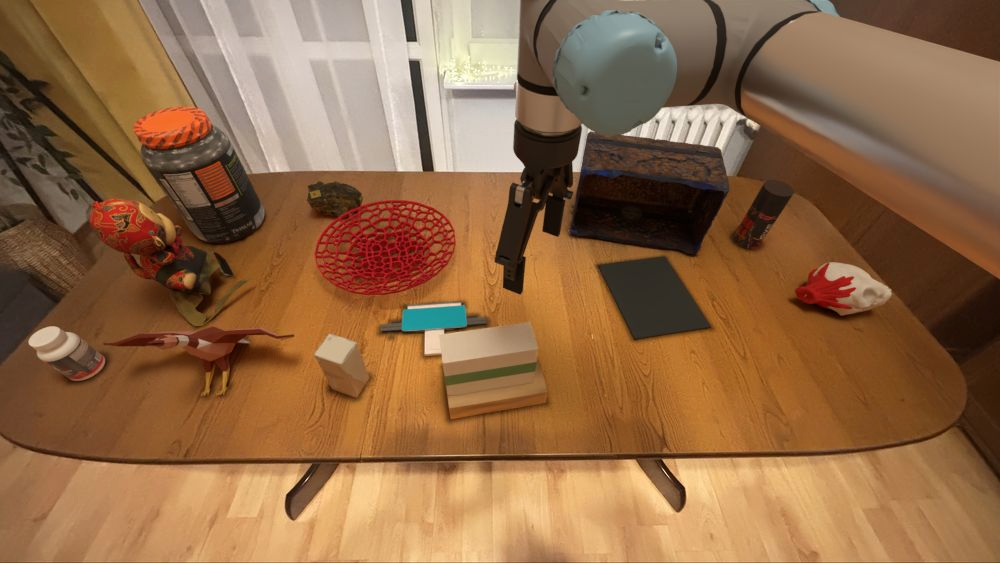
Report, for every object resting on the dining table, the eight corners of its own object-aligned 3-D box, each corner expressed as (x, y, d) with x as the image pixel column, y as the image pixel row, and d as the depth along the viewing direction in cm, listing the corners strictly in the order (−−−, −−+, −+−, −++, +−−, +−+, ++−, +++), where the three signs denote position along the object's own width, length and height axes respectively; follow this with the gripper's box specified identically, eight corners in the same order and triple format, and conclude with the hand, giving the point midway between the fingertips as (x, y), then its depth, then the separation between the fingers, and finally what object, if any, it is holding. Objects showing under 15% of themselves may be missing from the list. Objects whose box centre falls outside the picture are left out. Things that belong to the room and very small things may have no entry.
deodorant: (740, 229, 102) (771, 176, 91) (764, 242, 99) (799, 189, 88) (728, 239, 99) (758, 186, 88) (751, 253, 96) (786, 200, 85)
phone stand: (378, 360, 75) (377, 355, 73) (384, 308, 83) (382, 303, 81) (489, 351, 76) (489, 346, 75) (484, 301, 84) (484, 296, 83)
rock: (357, 169, 101) (351, 182, 95) (371, 202, 106) (367, 217, 100) (308, 181, 101) (299, 195, 95) (325, 214, 107) (317, 229, 100)
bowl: (324, 325, 80) (316, 308, 76) (319, 229, 98) (312, 212, 95) (472, 291, 86) (471, 274, 82) (441, 207, 105) (439, 191, 101)
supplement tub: (225, 199, 105) (168, 97, 86) (280, 210, 103) (233, 107, 84) (178, 239, 95) (100, 133, 76) (237, 252, 92) (173, 146, 73)
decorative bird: (85, 432, 61) (37, 347, 55) (166, 359, 78) (137, 287, 71) (283, 421, 63) (259, 337, 57) (321, 352, 80) (306, 281, 73)
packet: (526, 356, 71) (530, 321, 64) (533, 382, 68) (539, 349, 60) (444, 369, 69) (438, 334, 62) (447, 397, 66) (442, 363, 58)
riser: (545, 403, 70) (548, 391, 67) (450, 419, 67) (448, 408, 64) (531, 353, 76) (533, 340, 73) (444, 366, 74) (442, 354, 71)
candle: (878, 314, 84) (811, 333, 82) (835, 274, 91) (773, 291, 90) (907, 285, 77) (835, 306, 76) (858, 245, 84) (791, 263, 83)
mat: (710, 327, 81) (711, 326, 81) (634, 339, 79) (634, 338, 79) (664, 257, 94) (665, 256, 94) (597, 265, 92) (598, 264, 92)
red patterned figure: (233, 323, 77) (108, 226, 59) (158, 333, 81) (18, 244, 62) (263, 263, 87) (165, 164, 68) (196, 274, 90) (84, 182, 72)
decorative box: (701, 261, 95) (689, 201, 107) (742, 194, 79) (722, 132, 91) (567, 249, 98) (570, 192, 110) (580, 182, 82) (581, 123, 93)
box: (331, 389, 71) (310, 353, 62) (345, 368, 73) (327, 331, 65) (358, 398, 70) (341, 364, 61) (371, 377, 72) (357, 341, 64)
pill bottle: (61, 382, 70) (13, 350, 63) (82, 355, 74) (38, 322, 67) (94, 381, 71) (50, 349, 63) (113, 354, 74) (73, 321, 67)
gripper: (559, 75, 54) (543, 206, 70) (460, 165, 39) (468, 307, 55) (615, 87, 52) (585, 220, 68) (532, 188, 37) (519, 329, 52)
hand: (533, 259), depth 61 cm, fingers open, 13 cm apart
